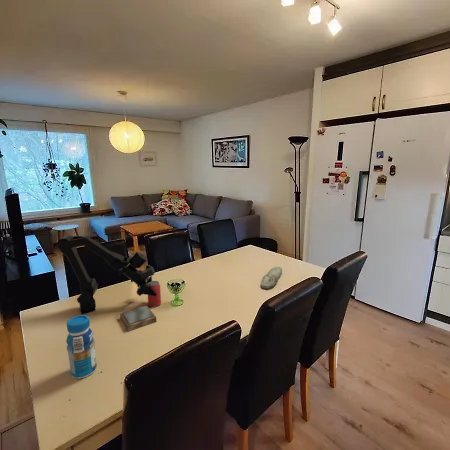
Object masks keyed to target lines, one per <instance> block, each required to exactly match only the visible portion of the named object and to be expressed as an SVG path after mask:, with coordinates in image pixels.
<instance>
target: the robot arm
mask: <svg viewBox="0 0 450 450" xmlns="http://www.w3.org/2000/svg"><path fill="white" fill-rule="evenodd" d="M81 246H84V247H85V248H88V249H89V250H90V251H92V252H93V253H95V254H96V255H98V256H99V257H101V258H102V259H104V260H105V261H106V263H107V265H109V266H110V267H111V268H112V269H113V270H115V271H116V270H117V272H118V277H120V276H121V275H122V274H123V275H124V276H125V277H127V278H128V279H129V280H130V283H134V284H135V285H136V287H138V288H137V289H136V294H137V295H138V296H139V297H141V296H142V295H147V296H148V295H152V296H156V295H157V294H156V293H155V292H154V291H153V290H152V289H151V287H150V284H148V283H149V282H151V281H153V276H154V275H155V272H156V271H155V269H154V266H152V265H150V264H148V265H146V266H145V268H144V269H143V270H142V269H140V268H141V267H142V266H143V265H144V264H145V263H146V262H147V261H148V258H147V257H146V256H145V254H143V253H142V252H139V251H136V252H134V254H133V255H132V256H123V255H122V254H120V253H118V252H114V251H111V250H110V249H108V248H106V247H105V246H103V245H102V244H101V243H99V242H97V241H96V240H95V239H93V238H91V236H89V235H75V236H74V235H73V236H72V235H69V234H67V235H65V236H62V237H61V238H59V239H58V240H57V242H56V247H57V249H58V250H59V251H60V252H61V253H62V254H63V255H64V256H65V257H67V260H68V262H69V263H70V265H71V268H72V269H73V272H74V274H75V275H76V277H77V279H78V282H79V290H80V295H78V296H77V298H76V300H77V301H76V302H77V303H78V305H79V308H78V309H79V312H80V315H84V314H87V313H91V312H95V311H96V310H97V309H96V306H97V305H96V299H95V298H94V295H95V293H97V290H98V289H99V288H98V286H99V284H98V282H97V281H96V279H95V277H94V278H91V277H90V276H89V274H88V272H87V270H86V268H85V266H84V264H83V262H82V259H81V258H80V255H79V253H78V249H77V248H78V247H81Z"/></svg>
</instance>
